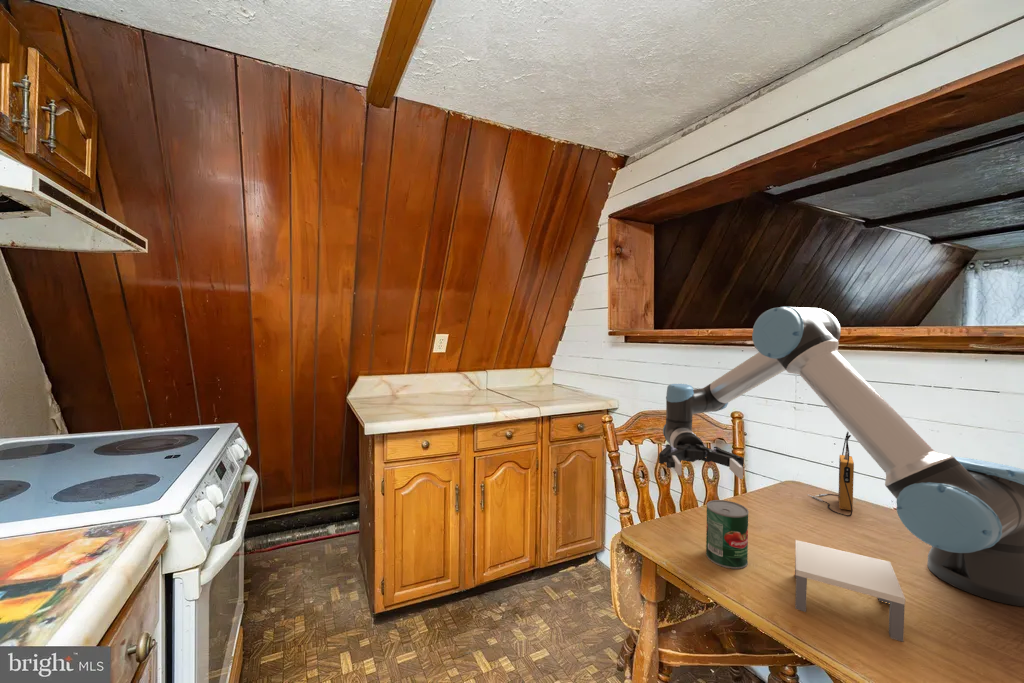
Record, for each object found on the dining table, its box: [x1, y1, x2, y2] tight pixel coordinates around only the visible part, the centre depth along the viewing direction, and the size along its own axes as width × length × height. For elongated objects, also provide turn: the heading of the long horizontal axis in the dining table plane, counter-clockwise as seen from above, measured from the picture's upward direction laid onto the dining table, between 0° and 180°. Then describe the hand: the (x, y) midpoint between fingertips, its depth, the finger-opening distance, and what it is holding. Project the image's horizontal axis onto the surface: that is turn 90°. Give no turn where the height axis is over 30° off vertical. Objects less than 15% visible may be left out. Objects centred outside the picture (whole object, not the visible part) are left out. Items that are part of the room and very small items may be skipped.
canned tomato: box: [705, 499, 750, 570], centre depth 88 cm, size 8×8×11 cm
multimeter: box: [806, 431, 855, 517], centre depth 115 cm, size 15×10×20 cm
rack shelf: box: [794, 539, 906, 643], centre depth 74 cm, size 14×12×7 cm
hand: (710, 471), depth 98 cm, fingers open, 13 cm apart
